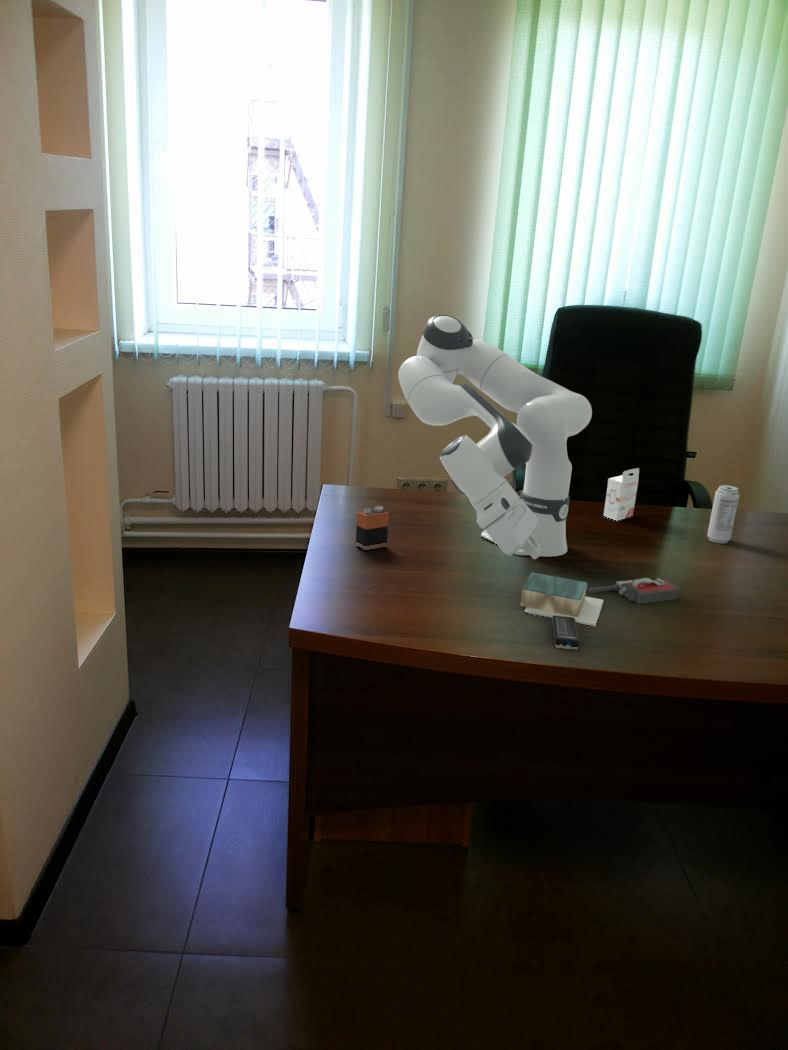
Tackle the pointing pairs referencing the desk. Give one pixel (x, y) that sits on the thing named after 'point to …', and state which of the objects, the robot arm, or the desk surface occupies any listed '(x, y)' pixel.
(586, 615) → the mat
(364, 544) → the battery
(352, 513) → the desk surface
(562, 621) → the multiport hub
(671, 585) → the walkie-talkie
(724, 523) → the energy drink can
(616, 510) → the ink cartridge box
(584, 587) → the beige rectangular block
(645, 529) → the desk surface
